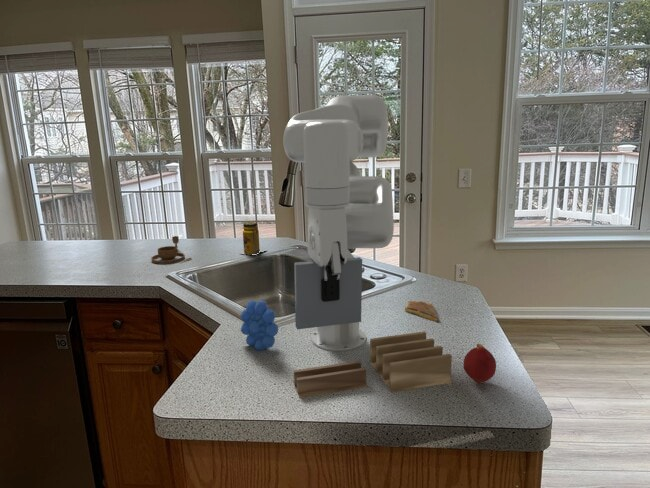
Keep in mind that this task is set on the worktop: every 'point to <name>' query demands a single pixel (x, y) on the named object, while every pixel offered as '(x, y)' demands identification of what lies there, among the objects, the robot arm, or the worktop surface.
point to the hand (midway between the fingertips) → (328, 297)
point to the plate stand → (329, 379)
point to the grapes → (259, 325)
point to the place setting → (169, 253)
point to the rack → (410, 361)
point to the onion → (479, 364)
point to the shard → (422, 309)
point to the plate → (331, 312)
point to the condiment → (250, 238)
